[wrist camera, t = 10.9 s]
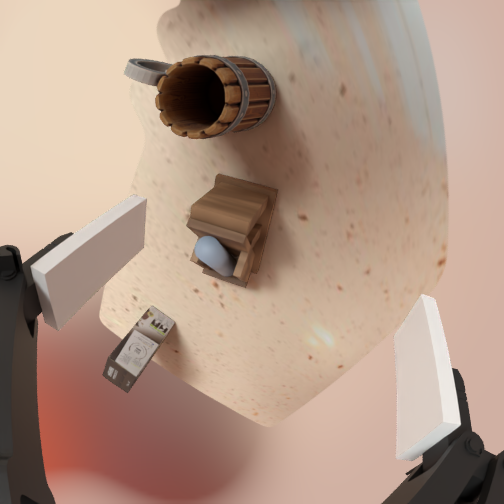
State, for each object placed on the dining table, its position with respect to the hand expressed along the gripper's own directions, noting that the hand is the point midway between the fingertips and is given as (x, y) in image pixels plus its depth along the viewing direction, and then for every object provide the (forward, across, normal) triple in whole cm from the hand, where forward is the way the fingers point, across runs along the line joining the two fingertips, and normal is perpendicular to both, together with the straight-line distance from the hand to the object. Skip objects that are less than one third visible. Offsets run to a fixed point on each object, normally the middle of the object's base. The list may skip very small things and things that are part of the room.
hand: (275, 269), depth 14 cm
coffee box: (+31, -21, -45) cm, 59 cm away
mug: (+32, -15, +4) cm, 36 cm away
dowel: (+29, -8, -22) cm, 37 cm away
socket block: (+31, -8, -16) cm, 36 cm away
